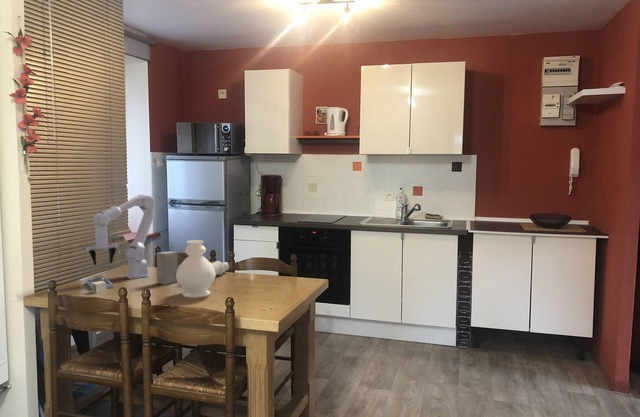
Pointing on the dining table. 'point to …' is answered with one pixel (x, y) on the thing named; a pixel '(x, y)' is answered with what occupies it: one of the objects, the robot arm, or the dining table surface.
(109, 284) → the tray
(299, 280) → the dining table surface
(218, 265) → the bottle
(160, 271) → the skincare box
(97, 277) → the plug
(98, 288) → the block
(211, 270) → the decorative vase
